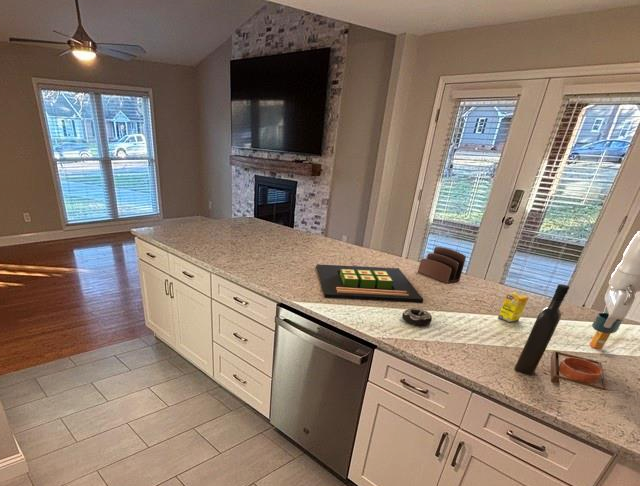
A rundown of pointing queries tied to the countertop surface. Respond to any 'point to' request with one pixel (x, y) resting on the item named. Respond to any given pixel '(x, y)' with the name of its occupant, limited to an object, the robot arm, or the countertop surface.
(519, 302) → the supplement box
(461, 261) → the letter holder
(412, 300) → the sushi set
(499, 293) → the countertop surface
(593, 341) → the supplement box
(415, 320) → the donut
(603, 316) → the small bowl
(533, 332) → the wine bottle
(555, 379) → the tray
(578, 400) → the countertop surface
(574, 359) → the big bowl
